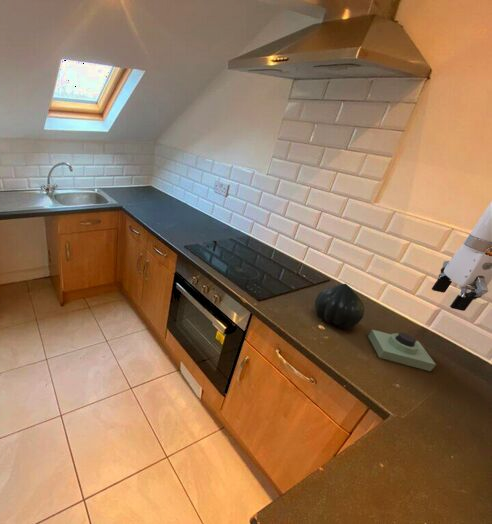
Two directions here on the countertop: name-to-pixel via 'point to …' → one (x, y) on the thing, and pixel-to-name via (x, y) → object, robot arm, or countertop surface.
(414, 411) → the countertop surface
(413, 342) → the button
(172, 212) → the countertop surface
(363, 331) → the countertop surface
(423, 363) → the knob plate
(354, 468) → the countertop surface
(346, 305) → the squash
